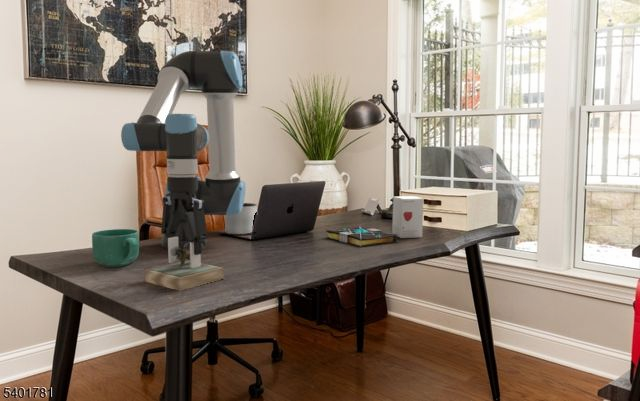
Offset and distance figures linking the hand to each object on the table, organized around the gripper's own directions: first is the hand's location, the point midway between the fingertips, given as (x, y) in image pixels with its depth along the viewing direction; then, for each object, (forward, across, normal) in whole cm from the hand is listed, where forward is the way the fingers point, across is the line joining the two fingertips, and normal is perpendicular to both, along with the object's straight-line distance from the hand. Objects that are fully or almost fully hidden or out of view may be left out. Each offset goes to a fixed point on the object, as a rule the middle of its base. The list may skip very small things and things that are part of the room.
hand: (184, 264), depth 137 cm
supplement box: (+5, +13, +95) cm, 96 cm away
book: (+5, +4, +76) cm, 77 cm away
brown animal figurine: (0, -1, +2) cm, 2 cm away
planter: (+5, -41, +60) cm, 73 cm away
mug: (+4, -28, -1) cm, 28 cm away
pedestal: (+4, 0, 0) cm, 4 cm away
